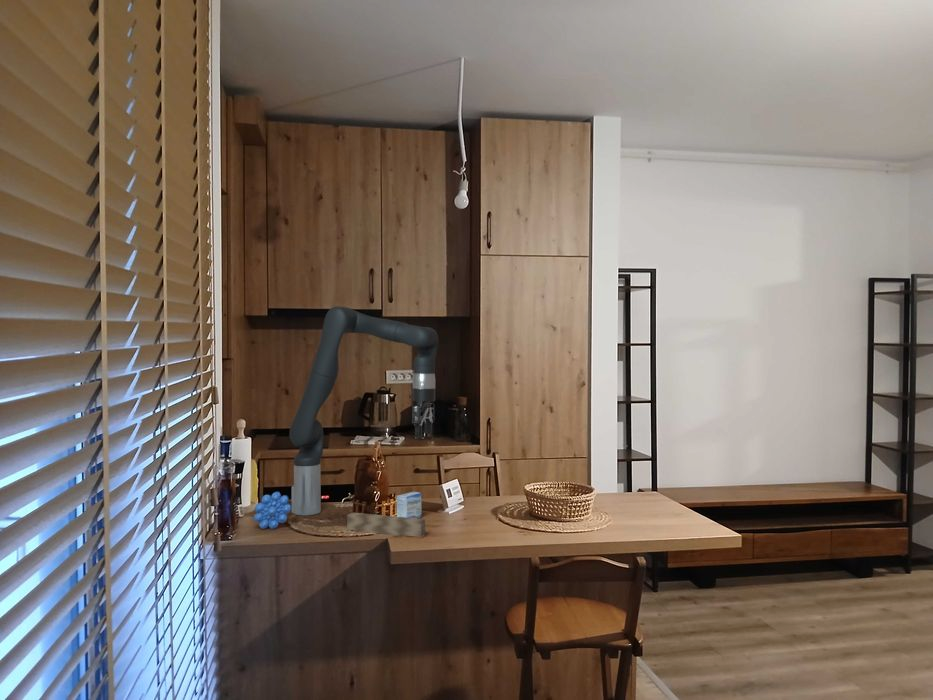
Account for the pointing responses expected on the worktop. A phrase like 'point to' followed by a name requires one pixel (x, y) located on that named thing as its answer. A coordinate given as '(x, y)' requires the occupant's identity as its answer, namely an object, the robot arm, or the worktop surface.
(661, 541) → the worktop surface
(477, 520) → the worktop surface
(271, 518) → the blue bumpy cluster
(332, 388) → the robot arm
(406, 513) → the medicine box
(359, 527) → the mottled grey bar
